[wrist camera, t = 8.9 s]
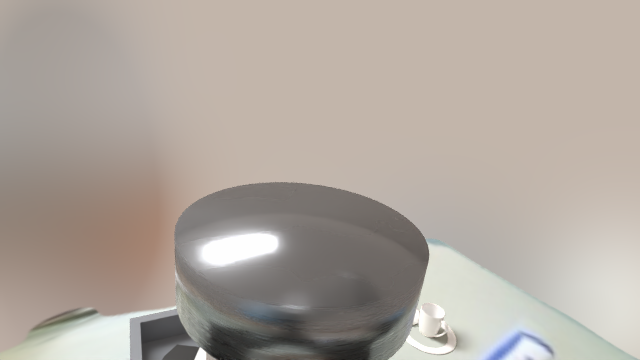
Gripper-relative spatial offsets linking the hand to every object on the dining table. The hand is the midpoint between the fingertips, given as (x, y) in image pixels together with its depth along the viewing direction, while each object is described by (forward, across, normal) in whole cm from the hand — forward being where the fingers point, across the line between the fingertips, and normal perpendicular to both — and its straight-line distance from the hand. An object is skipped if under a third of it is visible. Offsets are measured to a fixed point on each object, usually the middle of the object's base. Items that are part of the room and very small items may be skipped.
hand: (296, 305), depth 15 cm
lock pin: (-5, 0, -8) cm, 10 cm away
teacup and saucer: (+30, +20, -25) cm, 44 cm away
